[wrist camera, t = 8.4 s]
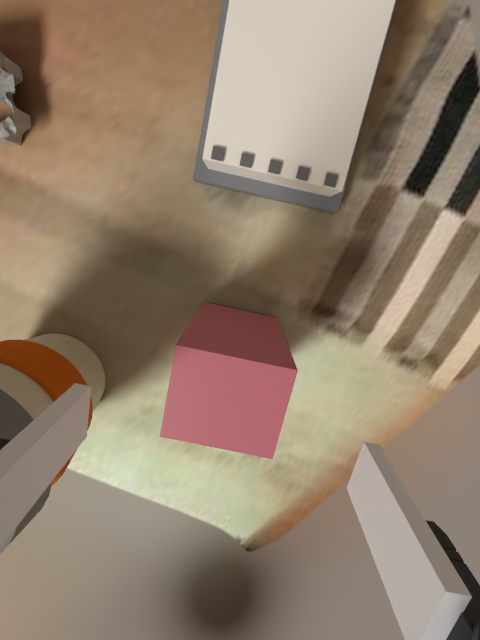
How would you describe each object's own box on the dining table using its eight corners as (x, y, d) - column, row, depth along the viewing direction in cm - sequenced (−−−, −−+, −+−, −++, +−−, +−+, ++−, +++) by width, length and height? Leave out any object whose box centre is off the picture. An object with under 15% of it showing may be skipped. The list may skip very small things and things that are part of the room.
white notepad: (238, -69, 23) (236, -154, 18) (399, -27, 24) (441, -98, 18) (196, 182, 27) (185, 170, 22) (333, 213, 28) (352, 208, 23)
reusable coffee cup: (1, 300, 30) (-224, 361, 16) (133, 332, 31) (33, 419, 16) (-7, 416, 33) (-199, 555, 19) (113, 443, 34) (15, 598, 20)
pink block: (203, 301, 30) (175, 345, 18) (277, 317, 30) (297, 370, 18) (191, 361, 31) (159, 436, 20) (262, 376, 31) (272, 458, 20)
